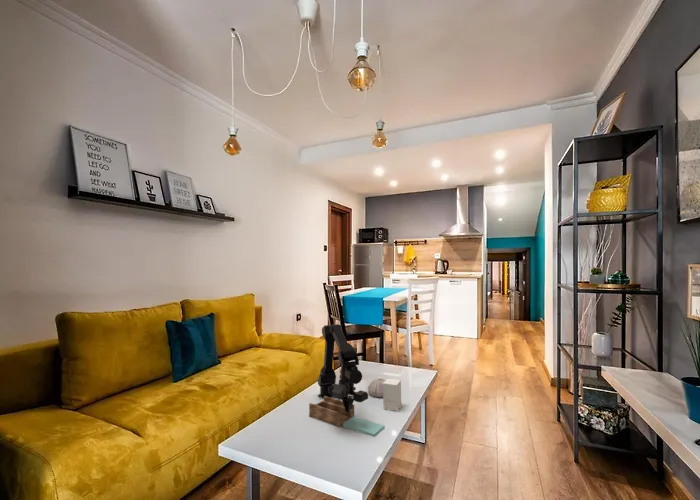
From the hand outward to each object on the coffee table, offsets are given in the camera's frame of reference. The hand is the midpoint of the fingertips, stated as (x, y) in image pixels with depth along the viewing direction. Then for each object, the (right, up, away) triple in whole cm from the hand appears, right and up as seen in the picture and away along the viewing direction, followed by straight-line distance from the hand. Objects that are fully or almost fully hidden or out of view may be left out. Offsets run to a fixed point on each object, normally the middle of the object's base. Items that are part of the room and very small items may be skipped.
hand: (347, 412), depth 144 cm
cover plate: (+7, -5, -4) cm, 9 cm away
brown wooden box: (-8, -5, +6) cm, 11 cm away
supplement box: (+22, -5, +15) cm, 27 cm away
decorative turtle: (0, -8, +57) cm, 57 cm away
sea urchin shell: (+17, -6, +32) cm, 37 cm away
